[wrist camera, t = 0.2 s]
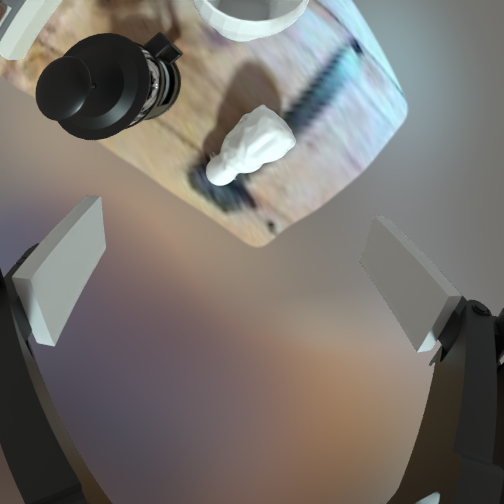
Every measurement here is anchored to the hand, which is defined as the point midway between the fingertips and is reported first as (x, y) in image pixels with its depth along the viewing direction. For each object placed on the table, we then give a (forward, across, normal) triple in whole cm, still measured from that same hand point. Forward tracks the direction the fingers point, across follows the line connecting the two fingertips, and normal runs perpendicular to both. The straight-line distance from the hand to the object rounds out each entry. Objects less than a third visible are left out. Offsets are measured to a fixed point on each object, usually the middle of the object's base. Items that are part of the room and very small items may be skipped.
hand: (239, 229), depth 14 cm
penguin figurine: (+28, +2, -1) cm, 28 cm away
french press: (+28, -11, +7) cm, 31 cm away
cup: (+28, 0, +17) cm, 33 cm away
